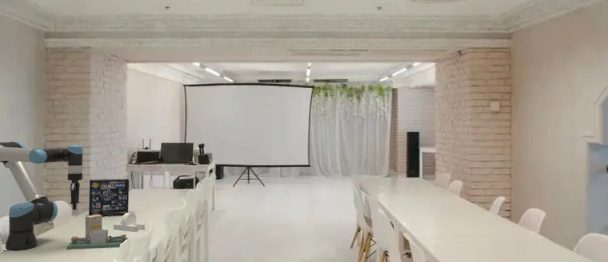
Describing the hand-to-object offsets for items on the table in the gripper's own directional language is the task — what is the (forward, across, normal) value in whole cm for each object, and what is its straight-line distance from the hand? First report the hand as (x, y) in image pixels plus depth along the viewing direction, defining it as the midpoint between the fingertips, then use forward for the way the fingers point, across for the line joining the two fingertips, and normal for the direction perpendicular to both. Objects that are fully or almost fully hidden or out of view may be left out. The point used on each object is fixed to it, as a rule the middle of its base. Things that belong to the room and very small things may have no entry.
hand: (74, 215), depth 275 cm
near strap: (+14, 0, -3) cm, 15 cm away
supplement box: (+17, +19, -7) cm, 26 cm away
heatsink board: (+17, 0, -13) cm, 21 cm away
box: (+17, +89, -5) cm, 91 cm away
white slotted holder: (+17, +39, -24) cm, 49 cm away
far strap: (+14, 0, -22) cm, 26 cm away
